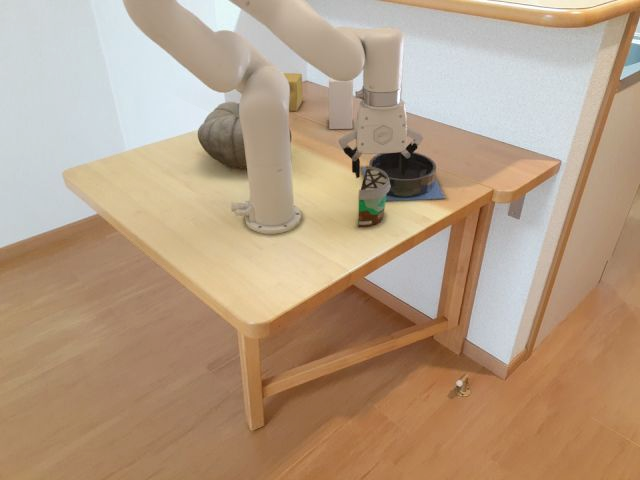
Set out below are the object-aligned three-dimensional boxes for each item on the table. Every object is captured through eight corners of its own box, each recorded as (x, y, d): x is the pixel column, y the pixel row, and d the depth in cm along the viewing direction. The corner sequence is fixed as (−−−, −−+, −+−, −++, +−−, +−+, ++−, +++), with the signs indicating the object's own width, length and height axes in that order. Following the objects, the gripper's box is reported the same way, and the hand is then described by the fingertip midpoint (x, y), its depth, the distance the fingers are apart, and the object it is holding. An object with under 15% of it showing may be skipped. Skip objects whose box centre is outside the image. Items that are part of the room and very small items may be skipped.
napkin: (370, 201, 122) (370, 200, 122) (361, 167, 137) (361, 166, 137) (444, 198, 123) (445, 197, 123) (427, 165, 138) (428, 164, 138)
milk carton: (352, 129, 159) (353, 67, 148) (329, 129, 159) (328, 67, 148) (351, 120, 165) (352, 60, 154) (329, 121, 165) (328, 60, 154)
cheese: (268, 110, 173) (265, 81, 167) (275, 99, 182) (273, 71, 176) (298, 112, 172) (296, 82, 166) (304, 100, 180) (303, 72, 175)
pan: (373, 200, 123) (374, 181, 120) (364, 169, 137) (365, 151, 134) (440, 197, 124) (443, 179, 121) (425, 166, 137) (427, 149, 134)
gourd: (210, 180, 127) (205, 109, 120) (191, 157, 147) (186, 95, 140) (304, 171, 136) (304, 104, 129) (274, 150, 157) (272, 91, 150)
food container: (385, 233, 111) (388, 193, 106) (357, 231, 112) (358, 190, 107) (390, 205, 121) (393, 166, 115) (364, 202, 122) (366, 164, 116)
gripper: (339, 104, 97) (340, 184, 107) (430, 100, 98) (423, 179, 108) (336, 91, 104) (338, 168, 113) (421, 87, 104) (415, 163, 114)
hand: (379, 173), depth 110 cm, fingers open, 9 cm apart
